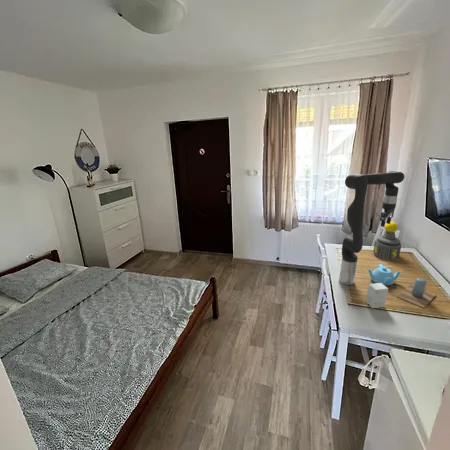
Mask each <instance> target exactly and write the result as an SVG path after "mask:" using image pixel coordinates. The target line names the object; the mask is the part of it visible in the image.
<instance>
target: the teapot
mask: <svg viewBox="0 0 450 450" xmlns="http://www.w3.org/2000/svg"><path fill="white" fill-rule="evenodd" d="M367 270H368V273H369V276H370V279H371V280H372V282H374V284H375V283H382V284H383V285H384V286H386V287H387V286H388V287H389V286H391V285H393V284H394V283H395V281H396V280H397V279H398V277H399V275H401V271H400V270H397V271H396V272H395V273H393V271H392V269H389V268H388V267H386V266H383V264H381V263H380V264H379V263H378V267H376V268H375V269H374V270H373V271H372V269H371V268H367Z"/></svg>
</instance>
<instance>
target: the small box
mask: <svg viewBox="0 0 450 450" xmlns="http://www.w3.org/2000/svg"><path fill="white" fill-rule="evenodd" d="M388 292H389V288H388V287H387V286H384V285H383V284H382V283H375V282H374V283H368V286H367V292H366V298H365V303H366V304H367V305H368V304H369V305H370V306H371V307H370V306H369V305H368V306H369V307H370V308H371V309H379V308H380V307H381V308H385V307H386V306H385V305H386V302H387V296H388Z"/></svg>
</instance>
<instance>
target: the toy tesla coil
mask: <svg viewBox="0 0 450 450" xmlns="http://www.w3.org/2000/svg"><path fill="white" fill-rule="evenodd" d="M383 228H384V230H385V231H384V233H383V234H382V235H379V236H377V239H375V241H374V245H373V246H374V247H373V255H374V256H375V257H376V258H378V259H381V260H386V261H395V260H398V258H399V257H400V253H401V249H402V243H401V240H400V239H399V237H397V236H396V232H397V231H398V229H399V226H398V224H397V223H396V222H395V221H391V223H390V224H387V223H386V222H385V226H384V227H383Z"/></svg>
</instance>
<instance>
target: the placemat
mask: <svg viewBox="0 0 450 450" xmlns="http://www.w3.org/2000/svg"><path fill="white" fill-rule="evenodd" d="M413 286H414V285H411V284H409V285H408V286H407V287H406V288H405V289H404V290H403V291H402V292H401V293H399V294H398V295H397V296H396V297H397V298H398V299H400V300H402V301H405V302H406V303H410V304H411V305H412V304H413V305H414V304H415V306H417V307H419V306H420V307H419V308H421V307H422V309H426V307H427V306H428V305H429V302H430V303H431V302H432V300H433V299H434V298H436V296H437V294H435V293H433V292H430V291H428V290H424V294H423V297H422V298H416V297H414V296H412V290H413Z"/></svg>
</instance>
